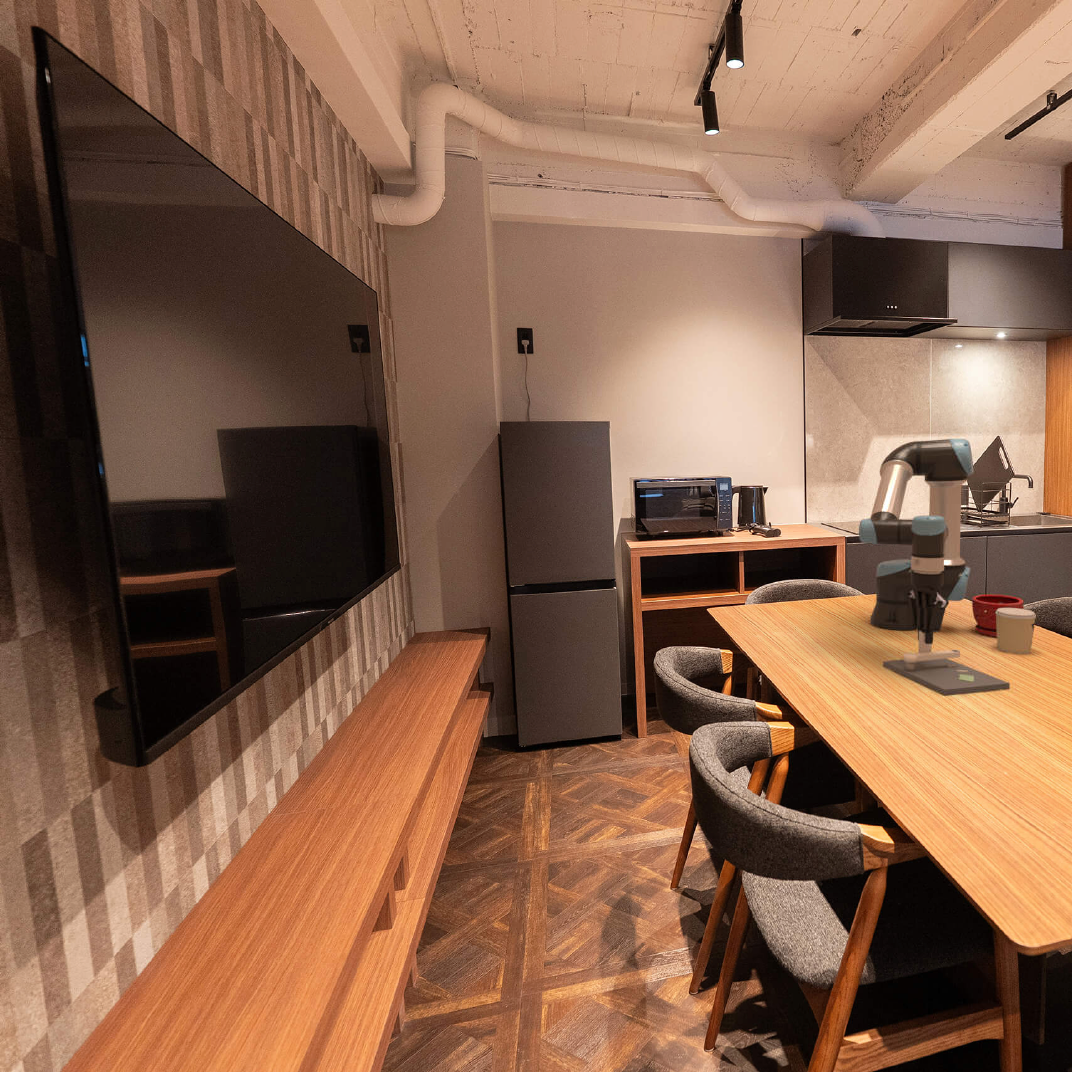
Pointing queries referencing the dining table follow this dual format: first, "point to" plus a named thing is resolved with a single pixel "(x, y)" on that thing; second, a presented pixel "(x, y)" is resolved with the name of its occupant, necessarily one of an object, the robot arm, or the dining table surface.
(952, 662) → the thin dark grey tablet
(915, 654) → the knob-ended beige rod
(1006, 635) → the coffee cup
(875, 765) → the dining table surface
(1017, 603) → the plant pot
